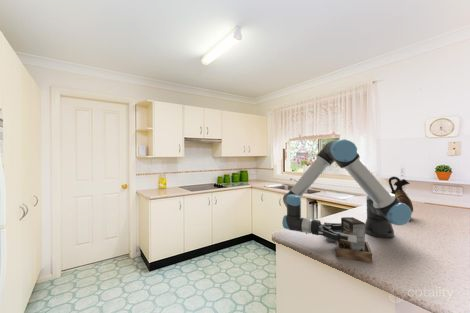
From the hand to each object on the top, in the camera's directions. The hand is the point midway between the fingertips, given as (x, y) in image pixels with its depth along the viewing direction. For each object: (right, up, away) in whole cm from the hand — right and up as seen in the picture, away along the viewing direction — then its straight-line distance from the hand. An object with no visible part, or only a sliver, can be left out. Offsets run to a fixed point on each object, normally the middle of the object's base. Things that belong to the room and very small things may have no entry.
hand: (358, 234), depth 101 cm
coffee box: (-2, -10, +1) cm, 10 cm away
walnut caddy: (-2, -10, +1) cm, 10 cm away
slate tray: (+3, -9, +20) cm, 23 cm away
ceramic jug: (+62, -8, +57) cm, 85 cm away
